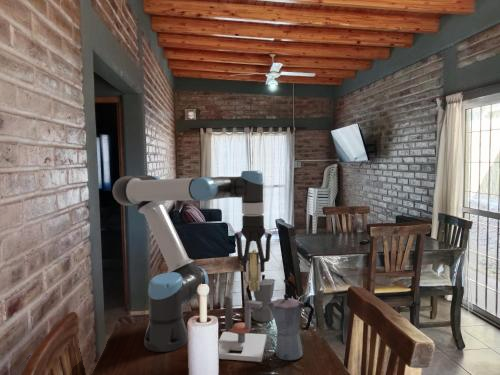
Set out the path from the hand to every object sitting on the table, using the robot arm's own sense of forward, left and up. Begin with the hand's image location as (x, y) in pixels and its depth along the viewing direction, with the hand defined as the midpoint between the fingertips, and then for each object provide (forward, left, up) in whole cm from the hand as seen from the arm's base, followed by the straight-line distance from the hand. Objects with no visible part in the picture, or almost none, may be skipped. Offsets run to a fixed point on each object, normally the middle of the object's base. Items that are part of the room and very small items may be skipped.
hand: (254, 280), depth 125 cm
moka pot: (+13, -7, -22) cm, 27 cm away
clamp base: (-4, -5, -22) cm, 23 cm away
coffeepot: (0, +21, -22) cm, 30 cm away
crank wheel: (-4, -4, -20) cm, 21 cm away
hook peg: (0, 0, -3) cm, 3 cm away
